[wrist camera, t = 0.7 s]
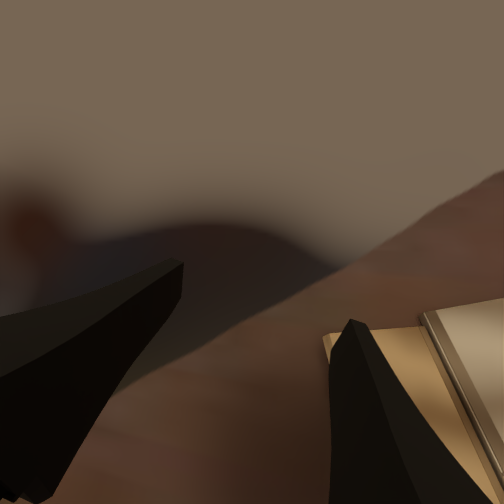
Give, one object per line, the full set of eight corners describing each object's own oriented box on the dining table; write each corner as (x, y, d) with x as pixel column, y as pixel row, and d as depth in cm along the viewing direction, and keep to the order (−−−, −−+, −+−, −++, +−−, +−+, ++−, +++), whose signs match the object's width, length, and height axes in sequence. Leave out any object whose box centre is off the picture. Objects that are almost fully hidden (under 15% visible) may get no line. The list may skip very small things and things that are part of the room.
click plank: (509, 542, 15) (533, 552, 14) (387, 588, 13) (404, 604, 12) (413, 329, 22) (424, 325, 21) (322, 337, 20) (329, 333, 19)
